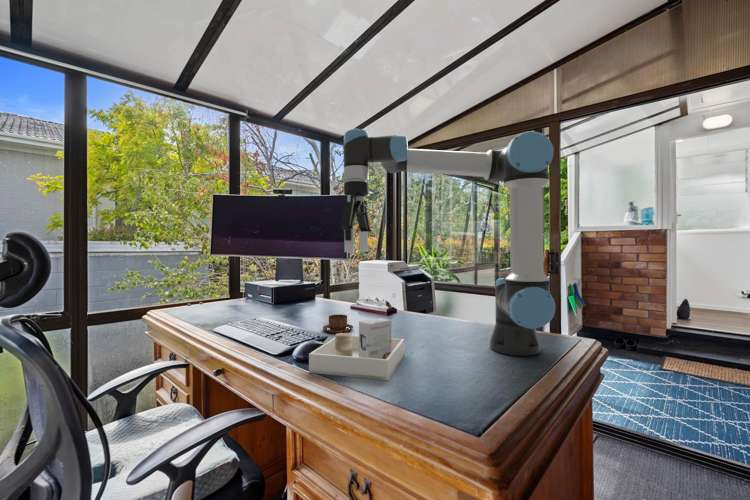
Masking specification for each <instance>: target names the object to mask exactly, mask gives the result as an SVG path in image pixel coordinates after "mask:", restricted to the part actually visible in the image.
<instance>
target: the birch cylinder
mask: <svg viewBox="0 0 750 500" xmlns="http://www.w3.org/2000/svg"><path fill="white" fill-rule="evenodd" d="M352 336H353V334H352V333H349V332H344V333H335V335H334V338H335V355H340V356H352Z"/></svg>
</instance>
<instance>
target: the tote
mask: <svg viewBox="0 0 750 500" xmlns="http://www.w3.org/2000/svg"><path fill="white" fill-rule="evenodd" d="M405 352H406V350H405V338H393V337H391V353H390V355H389V356H388V357H387V358H386V359H376V358H364V357H359V335H352V356H340V355H335V337H333V338H331V339H329V341H327V342H325V343H324V344H322V345H320V346H319V347H317V348H316V349H314V350H313V351H311V352H310V353H308V373H309V374H319V375H330V376H331V375H332V376H339V377H348V378H357V379H358V378H360V379H368V380H369V379H370V380H378V381H379V380H380V381H386V382H387V381H389V380H390V378H391V377H392V375H393V374H394V372H395V371H396V369H397V368H398V366H399V365H400V363H401V361H402V360H403V358H404V357H405V354H406V353H405Z"/></svg>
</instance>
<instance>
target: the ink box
mask: <svg viewBox="0 0 750 500" xmlns="http://www.w3.org/2000/svg"><path fill="white" fill-rule="evenodd" d="M392 322H393V321H392V320H391V319H387V318H382V317H380V318H374V319H366V320H361V321H358V336H359V357H364V358H376V359H386V358H387V357H388V356H389V355H390V353H391V338H392Z"/></svg>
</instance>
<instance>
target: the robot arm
mask: <svg viewBox="0 0 750 500" xmlns="http://www.w3.org/2000/svg"><path fill="white" fill-rule="evenodd" d="M408 142H409V141H408V137H407V136H406V135H403V134H402V135H401V134H400V135H399V134H398V135H397V134H393V135H380V136H369V132H368V130H366V129H363V128H350V129H348V130H346V131H345V132H344V135H343V145H342V146H343V147H342V148H343V172H342V176H343V180H344V183H343V194H344V206H343V211H342V216H341V222H340V229H341V230H343V232H344V233H343V235H344V236H343V237H344V238H343V240H344V243H343V244H344V245H343V247H344V249H343V250H344V251H343V252H344V253H355V229H354V224H355V222H356V219H357V223H358V227H359V232H358V244H359V245H358V248H359V250H358V251H359V252H360V253H362V252H363V253H367V252H369V240H368V239H369V238H368V237H369V232H371V225H370V220H369V213H368V206H367V205H368V203H367V200H364V197H366V196H369V194H370V189H369V185H370V184H369V179H370V177H369V175H370V174H369V172H370V171H369V163H381V166H382V167H383V169H384V170H385V171H387V173H389V174H396V173H399V172H400V173H401V172H402V173H403V172H404V173H406V172H407V173H419V174H420V173H421V174H422V173H423V174H435V175H436V174H437V175H450V176H463V177H464V176H465V177H466V176H467V177H482V178H483V179H484V180H485V181H491V182H493V181H494V182H503V186H505V187H506V188H507V189H508V190H509V242H510V243H509V249H510V251H509V252H510V253H509V255H510V256H509V258H510V260H509V261H510V262H509V263H510V272H509V274H508V275H507V276H506V277H501V278H500V277H499V278H498V279H496V280H495V286H494V290H495V301H494V302H495V325H494V328H493V331H492V334H491V336H490V340H489V348H490V349H491V350H493V351H494V352H497V353H500V354H504V355H509V356H510V355H511V356H521V357H522V356H523V357H524V356H527V357H528V356H534V355H538V354H540V353H541V343H540V341H539V337H538V334H537V331H536V329H539V328H542V327H545V326H547V324H549V323H550V322H551V321H552V319H553V318H554V316H555V313H556V303H555V299H554V297H553V296H552V295H551V293H550V278H549V277H548V276H547V275H545V273H544V239H543V238H544V235H543V234H544V231H543V230H544V229H543V228H544V226H543V224H544V223H543V222H544V221H543V188H544V186H546V184H547V183H548V182H549V166H550V164H551V163H552V160H553V157H554V151H555V150H554V146H553V143H552V142H551V140H550V139H549V137H547V136H546V135H545V134H544V133H541V132H538V131H534V130H533V131H524V132H521V133H519V134H518V135H516V136H515V137H513V138H512V139H510V141H509V142H508V144H507V146H505V148H501V149H488V151H487V152H475V151H474V152H473V151H459V150H458V151H457V150H438V149H423V148H421V149H420V148H419V149H418V148H409V143H408Z"/></svg>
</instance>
